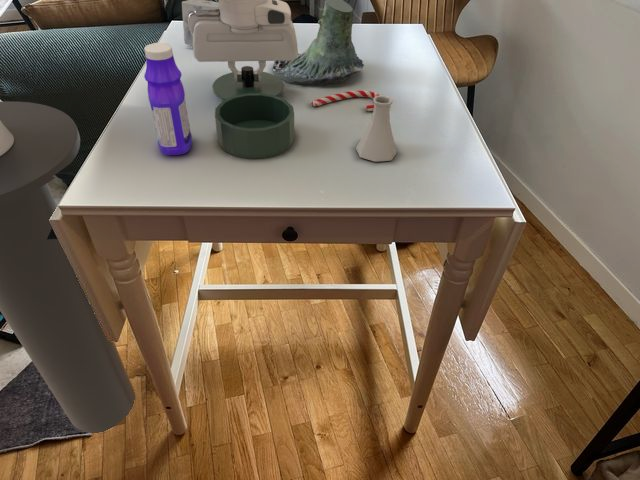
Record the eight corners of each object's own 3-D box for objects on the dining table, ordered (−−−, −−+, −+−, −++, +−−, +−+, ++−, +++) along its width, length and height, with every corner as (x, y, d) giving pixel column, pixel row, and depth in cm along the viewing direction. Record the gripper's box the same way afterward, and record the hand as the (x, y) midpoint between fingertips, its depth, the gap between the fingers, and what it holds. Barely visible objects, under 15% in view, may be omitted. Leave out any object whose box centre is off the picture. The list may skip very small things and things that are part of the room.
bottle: (160, 137, 87) (140, 38, 76) (193, 135, 88) (177, 37, 76) (158, 159, 82) (135, 57, 70) (192, 157, 83) (176, 55, 71)
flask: (354, 160, 84) (359, 107, 77) (357, 139, 89) (362, 87, 82) (396, 165, 83) (404, 111, 77) (396, 143, 89) (405, 91, 82)
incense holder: (235, 42, 122) (232, -2, 115) (221, 54, 116) (217, 8, 109) (199, 37, 124) (194, -7, 117) (184, 48, 118) (177, 3, 111)
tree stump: (289, 51, 120) (308, -26, 108) (362, 83, 119) (390, 10, 107) (258, 76, 106) (276, -8, 94) (341, 113, 105) (370, 32, 93)
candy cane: (308, 93, 99) (377, 87, 103) (308, 99, 100) (376, 93, 103) (317, 111, 94) (390, 104, 97) (317, 117, 95) (389, 110, 98)
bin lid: (211, 108, 94) (208, 85, 91) (214, 76, 105) (211, 54, 102) (286, 106, 96) (286, 83, 93) (281, 75, 107) (281, 53, 104)
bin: (217, 160, 82) (213, 131, 79) (219, 121, 92) (216, 94, 89) (296, 157, 84) (297, 129, 80) (290, 119, 94) (290, 92, 90)
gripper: (184, 15, 86) (195, 88, 96) (298, 14, 89) (298, 86, 98) (187, 4, 91) (197, 75, 100) (295, 3, 93) (295, 73, 103)
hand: (248, 80), depth 99 cm, fingers closed on bin lid, 2 cm apart
